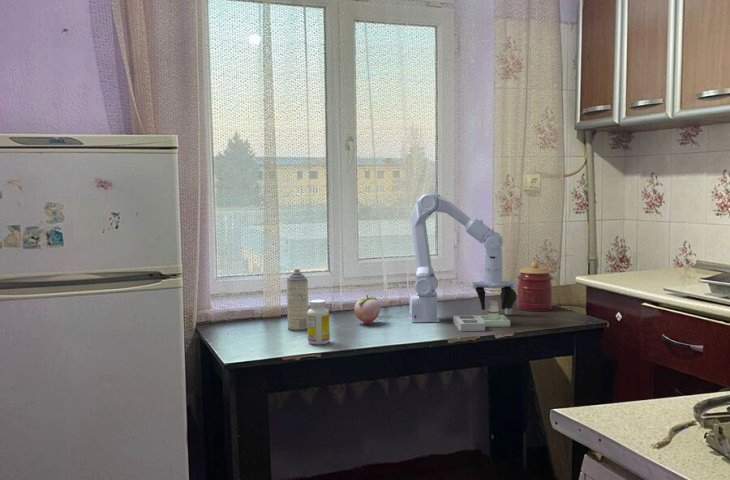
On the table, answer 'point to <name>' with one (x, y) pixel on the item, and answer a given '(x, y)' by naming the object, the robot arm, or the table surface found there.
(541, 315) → the table surface
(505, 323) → the parts tray
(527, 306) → the canister
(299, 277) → the aerosol can
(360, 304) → the decorative fruit
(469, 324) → the gray rectangular frame
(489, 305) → the fuse
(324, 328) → the supplement bottle
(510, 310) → the light bulb
